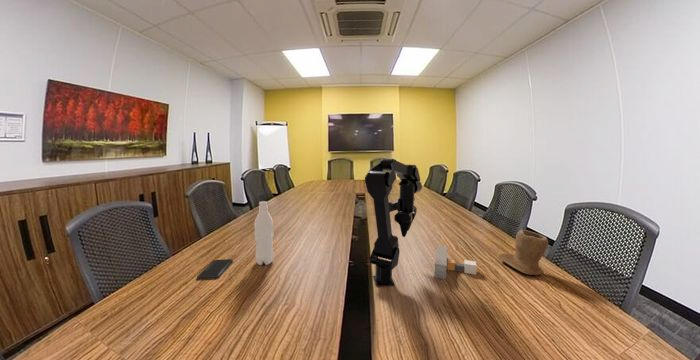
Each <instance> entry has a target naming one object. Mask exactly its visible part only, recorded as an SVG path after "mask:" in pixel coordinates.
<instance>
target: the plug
mask: <svg viewBox="0 0 700 360" xmlns="http://www.w3.org/2000/svg"><path fill="white" fill-rule="evenodd" d="M477 267H478V266H477V261H475V260H469V259H464V260H463V263H456V261H455V259H448V258H447V269H446V271H447V270H448V271H453V272H454V271H456V272H457V271H458V272H463V273H464V274H469V275H470V274H471V275H477Z"/></svg>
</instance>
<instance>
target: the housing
mask: <svg viewBox="0 0 700 360" xmlns="http://www.w3.org/2000/svg"><path fill="white" fill-rule="evenodd" d="M447 256H448V246H445V245H436V253H435V259H434V273H433V275H434V279H436V278H437V279H440V280H441V279H442V280H447V265H448V257H447Z"/></svg>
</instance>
